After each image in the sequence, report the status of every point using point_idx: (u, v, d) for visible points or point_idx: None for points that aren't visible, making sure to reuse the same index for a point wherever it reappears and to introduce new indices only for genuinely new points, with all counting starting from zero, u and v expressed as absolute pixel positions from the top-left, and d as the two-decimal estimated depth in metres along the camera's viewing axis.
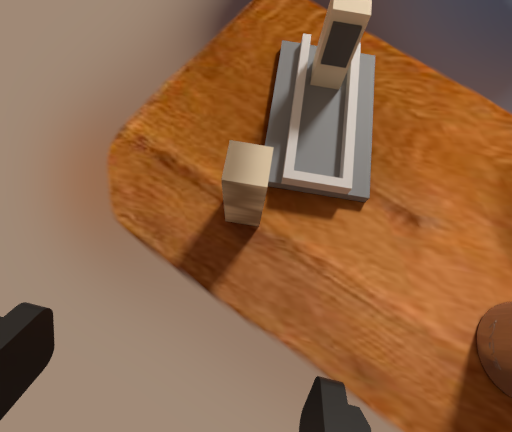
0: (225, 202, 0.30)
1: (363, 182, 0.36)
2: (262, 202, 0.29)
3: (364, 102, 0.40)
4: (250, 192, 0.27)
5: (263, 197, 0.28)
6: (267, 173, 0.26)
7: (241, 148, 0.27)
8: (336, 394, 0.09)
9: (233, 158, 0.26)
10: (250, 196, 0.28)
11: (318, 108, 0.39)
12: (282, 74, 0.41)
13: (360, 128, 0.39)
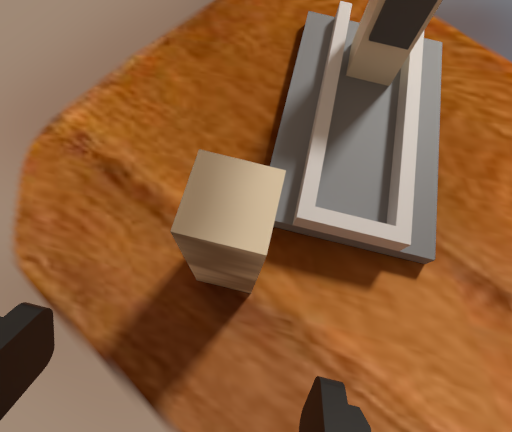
0: (189, 261, 0.16)
1: (425, 232, 0.22)
2: (256, 272, 0.15)
3: (426, 107, 0.26)
4: (232, 256, 0.13)
5: (258, 266, 0.14)
6: (269, 223, 0.12)
7: (220, 167, 0.13)
8: (336, 394, 0.09)
9: (200, 188, 0.13)
10: (233, 261, 0.14)
11: (357, 110, 0.26)
12: (305, 57, 0.27)
13: (420, 146, 0.25)
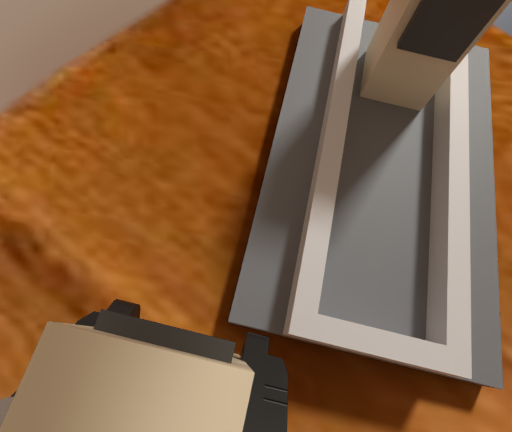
0: None
1: (485, 342, 0.15)
2: None
3: (474, 142, 0.19)
4: None
5: None
6: None
7: (93, 373, 0.05)
8: (259, 345, 0.10)
9: None
10: None
11: (376, 148, 0.18)
12: (302, 71, 0.19)
13: (469, 200, 0.17)
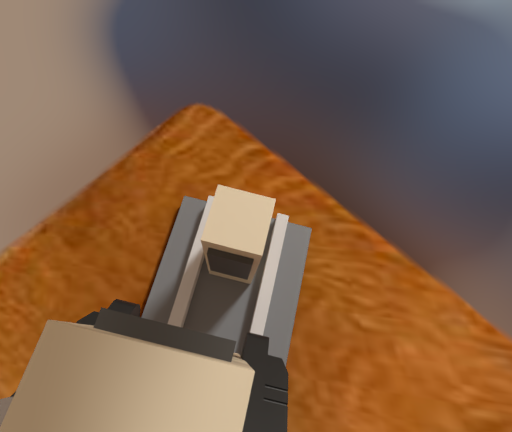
0: None
1: None
2: None
3: (283, 308, 0.28)
4: None
5: None
6: None
7: (94, 372, 0.05)
8: (259, 345, 0.10)
9: None
10: None
11: (213, 316, 0.27)
12: (172, 253, 0.28)
13: None
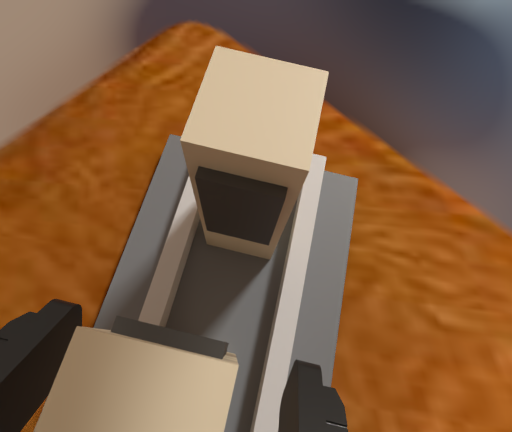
0: None
1: None
2: None
3: (322, 296, 0.18)
4: None
5: None
6: None
7: (113, 366, 0.07)
8: (312, 375, 0.09)
9: (68, 417, 0.07)
10: None
11: (213, 308, 0.17)
12: (151, 215, 0.19)
13: None
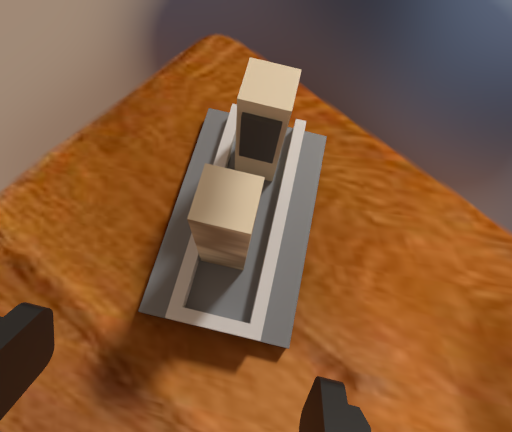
0: (197, 243, 0.23)
1: (284, 323, 0.26)
2: (245, 248, 0.21)
3: (303, 202, 0.30)
4: (228, 236, 0.19)
5: (246, 244, 0.20)
6: (253, 213, 0.19)
7: (219, 175, 0.19)
8: (336, 394, 0.09)
9: (206, 189, 0.19)
10: (229, 240, 0.20)
11: None
12: (200, 155, 0.31)
13: (292, 240, 0.29)
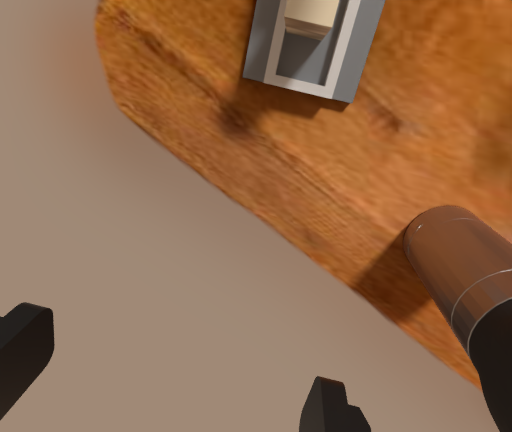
0: (287, 25, 0.28)
1: (350, 84, 0.35)
2: (326, 32, 0.27)
3: None
4: (314, 26, 0.25)
5: (327, 30, 0.26)
6: (335, 7, 0.24)
7: None
8: (336, 394, 0.09)
9: None
10: (313, 27, 0.26)
11: None
12: None
13: (367, 7, 0.32)
